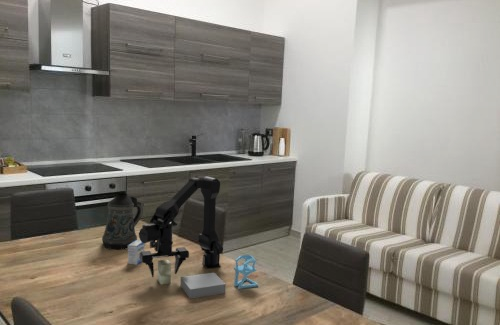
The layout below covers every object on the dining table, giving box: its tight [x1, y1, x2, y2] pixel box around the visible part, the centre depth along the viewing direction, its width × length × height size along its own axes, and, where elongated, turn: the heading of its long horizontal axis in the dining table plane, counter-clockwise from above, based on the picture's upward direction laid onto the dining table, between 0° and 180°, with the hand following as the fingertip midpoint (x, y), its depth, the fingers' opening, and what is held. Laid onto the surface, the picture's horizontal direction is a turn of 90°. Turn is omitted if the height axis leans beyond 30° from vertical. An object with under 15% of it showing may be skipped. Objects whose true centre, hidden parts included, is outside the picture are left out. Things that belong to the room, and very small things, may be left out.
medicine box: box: [127, 239, 146, 266], centre depth 195 cm, size 8×4×9 cm, turn 168°
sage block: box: [157, 259, 172, 285], centre depth 175 cm, size 4×5×8 cm
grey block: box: [180, 272, 226, 299], centre depth 170 cm, size 14×12×4 cm
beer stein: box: [101, 193, 144, 251], centre depth 216 cm, size 16×19×25 cm
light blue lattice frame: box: [233, 254, 259, 290], centre depth 175 cm, size 8×8×12 cm
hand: (164, 275), depth 176 cm, fingers open, 9 cm apart
